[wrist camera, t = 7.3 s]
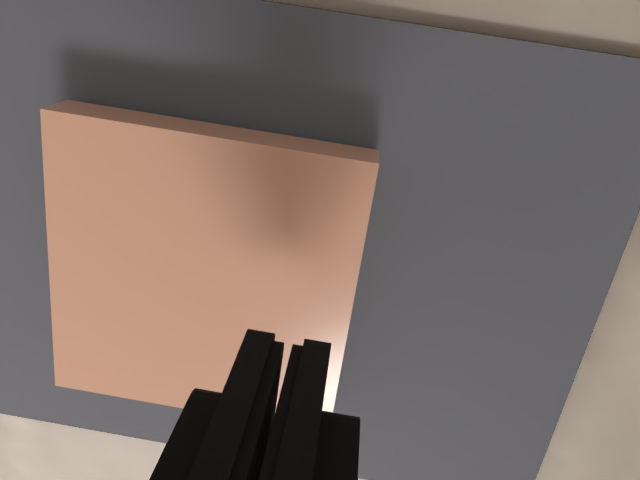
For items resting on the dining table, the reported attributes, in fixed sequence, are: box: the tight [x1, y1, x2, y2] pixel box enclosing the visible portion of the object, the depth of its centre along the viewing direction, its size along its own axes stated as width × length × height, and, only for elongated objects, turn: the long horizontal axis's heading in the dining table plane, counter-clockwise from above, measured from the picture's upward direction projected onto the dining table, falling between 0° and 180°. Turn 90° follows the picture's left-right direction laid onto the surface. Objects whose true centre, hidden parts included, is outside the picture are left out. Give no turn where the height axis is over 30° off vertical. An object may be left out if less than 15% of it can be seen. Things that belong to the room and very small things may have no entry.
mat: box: [0, 0, 640, 480], centre depth 16 cm, size 22×14×1 cm, turn 82°
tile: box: [40, 100, 379, 412], centre depth 16 cm, size 2×8×8 cm
